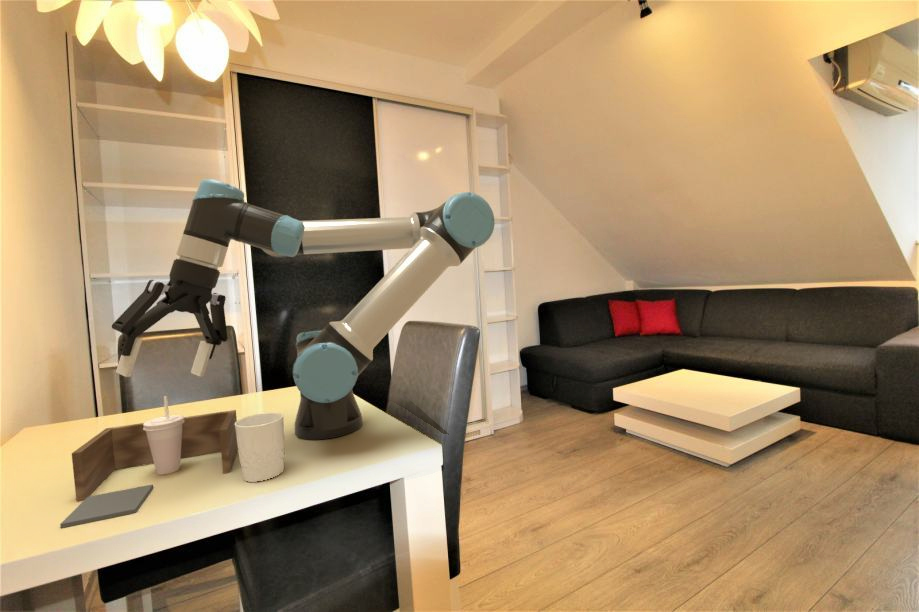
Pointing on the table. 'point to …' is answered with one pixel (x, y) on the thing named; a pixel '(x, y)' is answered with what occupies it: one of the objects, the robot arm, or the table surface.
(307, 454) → the table surface
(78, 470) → the wooden enclosure
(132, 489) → the mat
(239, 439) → the white cup
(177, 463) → the smoothie
